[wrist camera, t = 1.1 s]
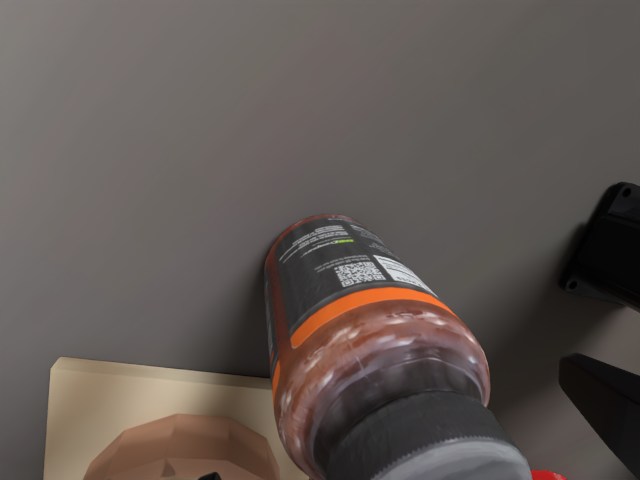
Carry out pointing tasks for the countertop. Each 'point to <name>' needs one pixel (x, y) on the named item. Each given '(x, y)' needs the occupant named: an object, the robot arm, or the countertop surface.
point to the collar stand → (160, 425)
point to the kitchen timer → (546, 475)
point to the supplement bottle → (374, 365)
